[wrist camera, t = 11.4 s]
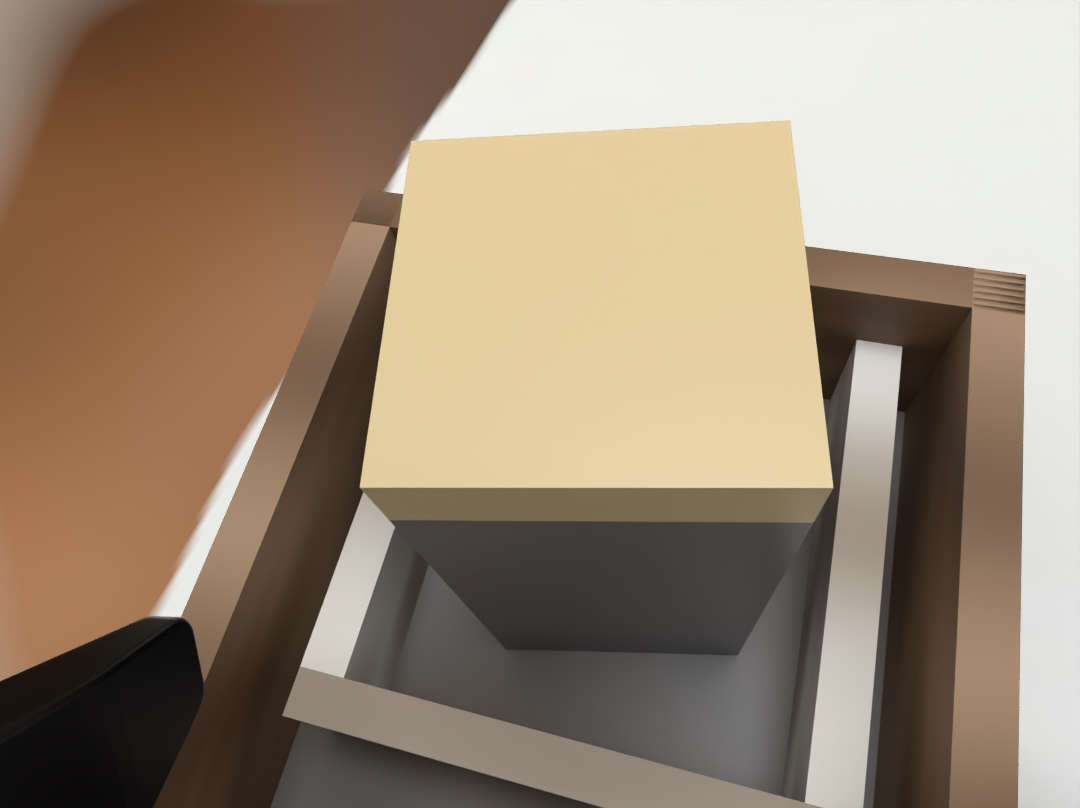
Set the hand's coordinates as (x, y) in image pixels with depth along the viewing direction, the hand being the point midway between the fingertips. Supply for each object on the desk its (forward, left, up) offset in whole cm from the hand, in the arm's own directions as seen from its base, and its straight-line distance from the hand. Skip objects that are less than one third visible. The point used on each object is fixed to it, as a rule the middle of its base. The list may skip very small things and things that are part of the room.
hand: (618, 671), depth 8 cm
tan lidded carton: (+4, +1, -8) cm, 9 cm away
